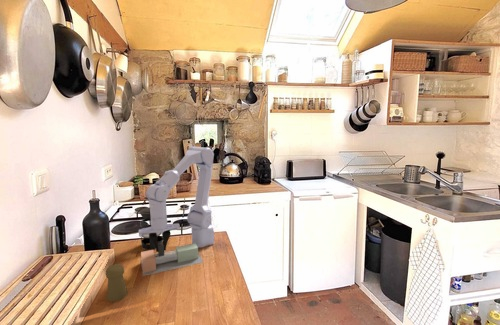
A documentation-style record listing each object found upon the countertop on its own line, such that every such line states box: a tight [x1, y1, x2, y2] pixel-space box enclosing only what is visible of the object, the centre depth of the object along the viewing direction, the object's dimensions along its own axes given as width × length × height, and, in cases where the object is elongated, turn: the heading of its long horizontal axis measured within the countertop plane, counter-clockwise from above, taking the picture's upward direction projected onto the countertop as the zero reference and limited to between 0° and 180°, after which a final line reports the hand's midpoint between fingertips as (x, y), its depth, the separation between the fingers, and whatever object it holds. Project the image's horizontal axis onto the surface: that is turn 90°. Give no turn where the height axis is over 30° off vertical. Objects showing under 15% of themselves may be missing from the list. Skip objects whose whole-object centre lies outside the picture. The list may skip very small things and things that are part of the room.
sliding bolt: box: [154, 242, 178, 264], centre depth 104 cm, size 14×3×7 cm, turn 115°
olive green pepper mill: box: [105, 263, 128, 303], centre depth 85 cm, size 6×6×11 cm
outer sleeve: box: [175, 243, 199, 262], centre depth 108 cm, size 8×4×4 cm, turn 115°
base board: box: [140, 252, 204, 277], centre depth 106 cm, size 22×12×1 cm, turn 115°
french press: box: [138, 196, 163, 251], centre depth 118 cm, size 12×9×23 cm
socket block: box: [140, 249, 156, 273], centre depth 102 cm, size 4×8×4 cm, turn 25°
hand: (160, 250), depth 103 cm, fingers closed on sliding bolt, 2 cm apart
